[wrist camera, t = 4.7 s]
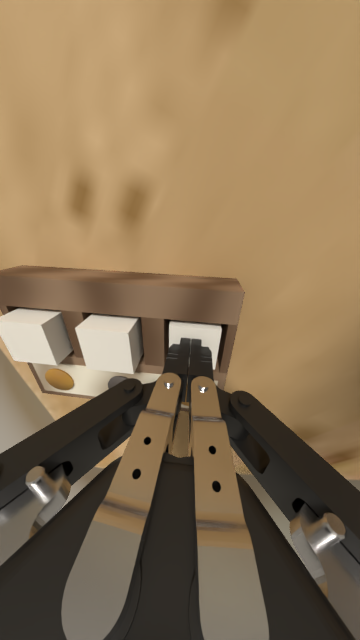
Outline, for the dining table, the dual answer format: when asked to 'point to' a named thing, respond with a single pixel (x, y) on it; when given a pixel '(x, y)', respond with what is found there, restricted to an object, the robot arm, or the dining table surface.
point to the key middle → (111, 342)
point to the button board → (127, 300)
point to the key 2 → (197, 334)
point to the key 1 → (36, 335)
